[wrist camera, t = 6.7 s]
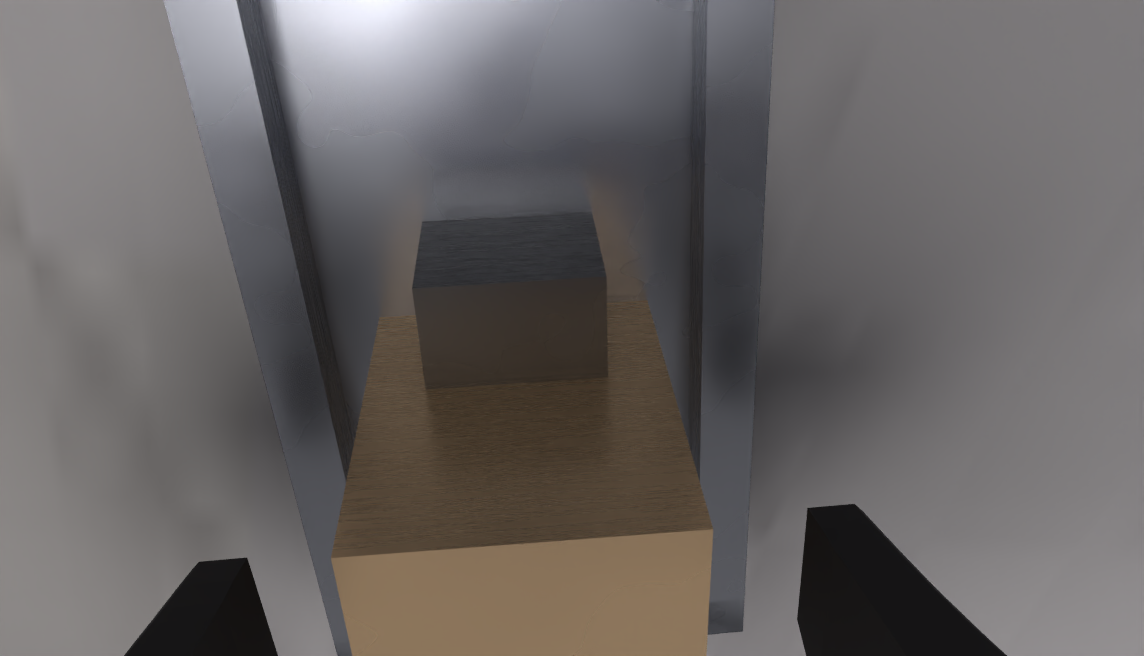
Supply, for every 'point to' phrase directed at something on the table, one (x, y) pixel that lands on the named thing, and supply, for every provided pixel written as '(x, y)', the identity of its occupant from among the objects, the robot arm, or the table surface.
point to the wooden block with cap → (521, 462)
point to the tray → (487, 196)
